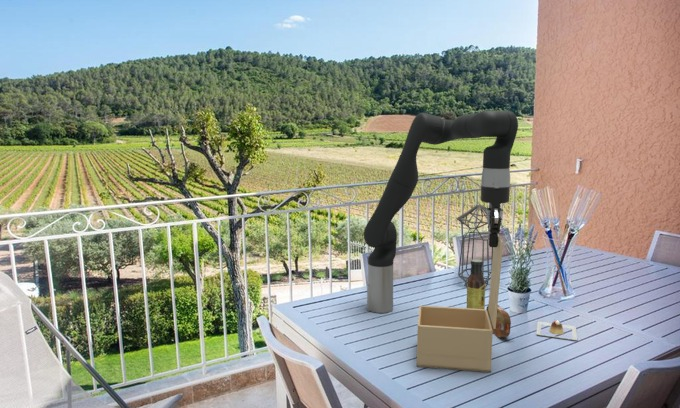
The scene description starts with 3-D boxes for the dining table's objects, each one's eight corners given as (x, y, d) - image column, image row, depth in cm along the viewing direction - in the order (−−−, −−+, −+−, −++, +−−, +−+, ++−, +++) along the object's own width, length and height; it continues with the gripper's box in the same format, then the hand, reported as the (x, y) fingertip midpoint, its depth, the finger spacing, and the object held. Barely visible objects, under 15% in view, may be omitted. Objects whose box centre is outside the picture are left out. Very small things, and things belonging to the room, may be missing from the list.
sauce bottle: (484, 318, 177) (487, 263, 174) (466, 317, 178) (468, 262, 176) (483, 312, 184) (485, 258, 181) (465, 311, 185) (467, 258, 182)
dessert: (537, 324, 173) (538, 310, 173) (575, 329, 169) (576, 315, 168) (536, 337, 162) (536, 323, 162) (577, 343, 158) (578, 328, 157)
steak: (484, 324, 173) (485, 300, 171) (493, 323, 173) (494, 299, 172) (502, 342, 158) (503, 316, 157) (511, 341, 158) (513, 315, 157)
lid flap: (501, 242, 133) (503, 242, 133) (494, 230, 148) (496, 231, 147) (493, 328, 137) (495, 328, 137) (488, 309, 151) (490, 309, 151)
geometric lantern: (499, 283, 218) (503, 203, 212) (489, 294, 205) (492, 209, 199) (464, 277, 226) (466, 200, 220) (451, 287, 213) (454, 205, 207)
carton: (416, 367, 141) (417, 326, 139) (418, 342, 158) (419, 305, 156) (491, 373, 138) (492, 331, 136) (485, 347, 154) (486, 309, 152)
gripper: (479, 182, 145) (477, 241, 148) (483, 186, 133) (480, 251, 135) (506, 182, 144) (504, 242, 146) (513, 187, 131) (510, 252, 134)
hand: (493, 246), depth 141 cm, fingers closed
